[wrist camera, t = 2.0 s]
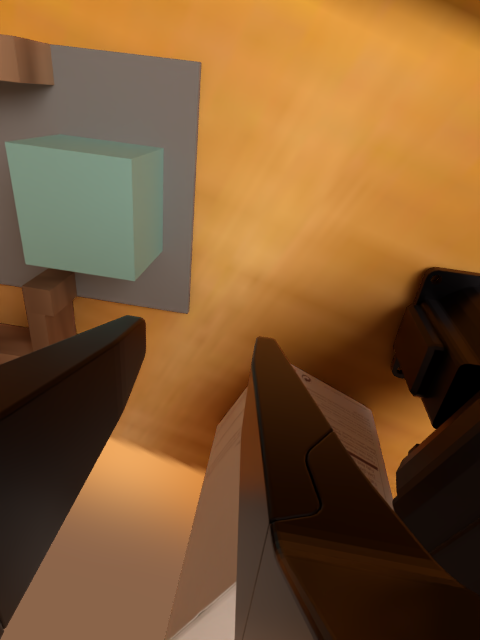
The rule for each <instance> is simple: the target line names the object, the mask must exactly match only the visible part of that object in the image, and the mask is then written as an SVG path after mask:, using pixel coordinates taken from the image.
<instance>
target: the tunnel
mask: <svg viewBox="0 0 480 640" xmlns="http://www.w3.org/2000/svg"><path fill="white" fill-rule="evenodd" d="M0 80H2V81H10V82H18V83H31V84H46V85H54V76H53V67H52V57H51V48H50V44H47V43H42V42H38V41H33V40H29V39H25V38H20V37H16V36H9V35H1V34H0ZM22 291H23V297H24V302H25V308H26V313H27V319H28V324H29V328H25V327H19V326H13V325H7V324H1V323H0V364H3V363H5V362H8V361H11V360H13V359H16V358H18V357H21V356H23V355H26V354H29V353H31V352H34V351H36V350H39V349H41V348H44V347H47V346H49V345H52V344H54V343H57V342H59V341H62V340H64V339H67V338H70V337H72V336H75V335H76V328H75V319H74V310H73V301H72V300H73V299H74V298H76V297H77V289H76V280H75V272H71V271H65V270H58V269H52V268H48V269H47V270H45V271H44V272H42V273H41V274H39V275H38V276H36V277H35V278H33V279H32V280H30V281H29V282H27V283H26V284H24V285H23V286H22Z"/></svg>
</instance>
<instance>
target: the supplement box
mask: <svg viewBox="0 0 480 640" xmlns="http://www.w3.org/2000/svg"><path fill="white" fill-rule="evenodd" d="M291 365H292V364H291ZM292 367H293V368H294V370H295V371H296V373H297V374H298V376H299V377H300V379H301V381H302V382H303V384H304V385H305V387H306V388H307V390H308V391H309V393H310V394H311V396H312V398H313V399H314V401H315V402H316V404H317V405H318V407H319V408H320V410H321V411H322V413H323V415H324V416H325V418H326V419H327V421H328V422H329V424H330V425H331V427H332V428H333V432H335V433H336V434H337V436H338V438H339V439H340V441H341V442H342V444H343V445H344V447H345V448H346V450H347V451H348V452H349V454H350V455H351V457H352V458H353V460H354V461H355V463H356V464H357V465H358V467H359V468H360V469H361V471H362V472H363V473H364V474H365V476H366V477H367V478H368V479H369V481H370V482H371V483H372V485H373V486H374V487H375V488H376V490H377V491H378V492H379V493H380V495H381V496H382V497H383V498H384V499H385V501H386V502H387V503H388V504H389V505H390V507H391V508H392V509H393V505H392V501H393V498H392V494H391V490H390V485H389V481H388V477H387V473H386V469H385V464H384V460H383V456H382V452H381V448H380V443H379V439H378V435H377V431H376V427H375V423H374V419H373V415H372V411H371V410H370V409H368V408H367V407H365V406H364V405H362V404H360V403H359V402H357V401H355V400H354V399H352V398H350V397H348V396H346V395H345V394H343V393H341V392H340V391H338V390H336V389H334V388H332V387H331V386H329V385H327V384H326V383H324V382H322V381H320V380H318V379H317V378H315V377H313V376H311V375H310V374H308V373H306V372H304V371H303V370H301V369H299V368H297V367H296V366H294V365H292ZM247 389H248V386H247V388H246V389H245V390H244V392H243V393H242V394H241V395H240V397H239V398H238V399H237V401H236V402H235V403H234V405H233V406H232V407H231V409H230V410H229V411H228V412H227V414H226V415H225V416H224V418H223V419H222V420H221V422H220V423H219V424H218V425H217V428H216V433H215V437H214V441H213V445H212V449H211V453H210V457H209V461H208V465H207V469H206V473H205V477H204V481H203V486H202V489H201V493H200V498H199V502H198V506H197V510H196V514H195V518H194V522H193V526H192V530H191V534H190V538H189V542H188V546H187V550H186V554H185V558H184V562H183V566H182V570H181V574H180V578H179V582H178V586H177V590H176V594H175V598H174V602H173V606H172V610H171V615H170V619H169V623H168V627H167V631H166V635H165V639H164V640H235V608H236V576H237V545H238V513H239V481H240V449H241V431H242V423H243V416H244V409H245V403H246V396H247ZM393 510H394V509H393Z"/></svg>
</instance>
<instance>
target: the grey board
mask: <svg viewBox="0 0 480 640" xmlns="http://www.w3.org/2000/svg"><path fill="white" fill-rule="evenodd" d="M50 48H51V57H52V67H53V76H54V85H46V84H31V83H18V82H10V81H2V80H0V284H5V285H11V286H17V287H22V286H23V285H24V284H26V283H27V282H29V281H30V280H32V279H33V278H35V277H36V276H38V275H39V274H41V273H42V272H44V271H45V270H47V269H48V268H47V267H41V266H34V265H28V264H26V263H25V257H24V252H23V246H22V240H21V234H20V228H19V223H18V217H17V211H16V205H15V199H14V193H13V188H12V182H11V176H10V170H9V164H8V158H7V153H6V147H5V142H8V141H15V140H22V139H29V138H37V137H44V136H51V135H58V134H61V135H69V136H76V137H84V138H91V139H99V140H106V141H114V142H121V143H129V144H136V145H144V146H151V147H159V148H164V153H163V249H162V252H161V253H160V254H159V255H158V256H157V258H156V259H155V260H154V261H153V262H152V263H151V264H150V265H149V266H148V267H147V268H146V270H145V271H144V272H143V273H142V274H141V275H140V276H139V277H138V278H137V279H136V280H135V281H130V280H124V279H118V278H111V277H105V276H98V275H92V274H86V273H79V272H75V280H76V289H77V296H80V297H86V298H92V299H98V300H105V301H111V302H117V303H123V304H130V305H136V306H142V307H148V308H155V309H161V310H167V311H173V312H180V313H186V314H188V312H189V302H190V281H191V261H192V240H193V220H194V200H195V179H196V159H197V138H198V118H199V98H200V77H201V62H195V61H187V60H178V59H170V58H161V57H153V56H144V55H136V54H128V53H119V52H111V51H102V50H94V49H86V48H77V47H69V46H60V45H52V44H50ZM52 269H53V268H52ZM58 270H60V269H58ZM65 271H66V270H65ZM71 272H73V271H71Z"/></svg>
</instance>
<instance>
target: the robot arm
mask: <svg viewBox="0 0 480 640" xmlns="http://www.w3.org/2000/svg"><path fill="white" fill-rule="evenodd" d="M435 275H439V279H438V280H436V281H431V278H432V277H433V276H435ZM393 348H394V351H395V355H394V358H393V361H392V363H391V370H392V373H393V375H394V376H396V377H398V378H404V379H405V380H406V383H407V385H408V388H409V391H410V392H411V393H412V395H413V396H415V397H421V399H422V402H423V404H424V407H425V409H426V412H427V414H428V417H429V419H430V421H431V424H432V426H433V427H434V428H435V429H436V430H435V431H434V432H433V433H432V434H431V435H430V436H428V437H427V438H426V439H425V440H424V441H423V442H422V443H421V444H416V445H415V446H414V447H413V448H412V449H410V450H409V452H408V456H407V457H405V458H404V459H403V460H402V462H401V464H400V466H399V468H398V470H397V472H396V488H397V496H396V497H395V498H394V499H393V501H392V505H393V509H394V510H393V509H392V508H391V507H390V505H389V504H388V503H387V502H386V501H385V499H384V498H383V497H382V496H381V495H380V493H379V492H378V491H377V490H376V488H375V487H374V486H373V485H372V483H371V482H370V481H369V479H368V478H367V477H366V476H365V474H364V473H363V472H362V471H361V469H360V468H359V467H358V465H357V464H356V463H355V461H354V460H353V458H352V457H351V455H350V454H349V452H348V451H347V450H346V448H345V447H344V445H343V444H342V442H341V441H340V439H339V438H338V436H337V434H336V433H335V432H333V428H332V427H331V425H330V424H329V422H328V421H327V419H326V418H325V416H324V415H323V413H322V411H321V410H320V408H319V407H318V405H317V404H316V402H315V401H314V399H313V398H312V396H311V394H310V393H309V391H308V390H307V388H306V387H305V385H304V384H303V382H302V381H301V379H300V377H299V376H298V374H297V373H296V371H295V370H294V368H293V367H292V365H291V364H290V362H289V360H288V359H287V357H286V356H285V354H284V353H283V351H282V350H281V348H280V346H279V345H278V343H277V342H276V340H275V339H273V338H267V337H261V336H259V337H257V338H256V341H255V346H254V351H253V356H252V362H251V369H250V375H249V382H248V389H247V396H246V403H245V409H244V416H243V423H242V431H241V449H240V481H239V513H238V545H237V576H236V608H235V640H480V273H473V272H466V271H460V270H453V269H446V268H439V267H433V268H430V269H428V270H427V271H426V272H425V274H424V276H423V278H422V281H421V284H420V287H419V289H418V292H417V295H416V298H415V300H414V303H413V304H411V305H410V306H408V307H407V308H406V311H405V314H404V316H403V319H402V322H401V325H400V328H399V331H398V333H397V336H396V339H395V342H394V345H393ZM145 353H146V323H145V320H144V319H143V318H141V317H135V316H129V315H126V316H124V317H121V318H118V319H116V320H113V321H111V322H108V323H106V324H103V325H100V326H98V327H95V328H93V329H90V330H88V331H85V332H82V333H80V334H77V335H75V336H72V337H70V338H67V339H64V340H62V341H59V342H57V343H54V344H52V345H49V346H47V347H44V348H41V349H39V350H36V351H34V352H31V353H29V354H26V355H23V356H21V357H18V358H16V359H13V360H11V361H8V362H5V363H3V364H0V639H1V637H2V635H3V633H4V630H3V629H5V628H6V627H7V625H8V623H9V621H10V620H11V618H12V616H13V614H14V612H15V610H16V608H17V607H18V605H19V603H20V601H21V599H22V598H23V596H24V594H25V592H26V590H27V588H28V586H29V585H30V583H31V581H32V579H33V577H34V575H35V574H36V572H37V570H38V568H39V566H40V564H41V562H42V561H43V559H44V557H45V555H46V553H47V551H48V550H49V548H50V546H51V544H52V542H53V540H54V538H55V537H56V535H57V533H58V531H59V529H60V527H61V526H62V524H63V522H64V520H65V518H66V516H67V515H68V513H69V511H70V509H71V507H72V505H73V504H74V502H75V500H76V498H77V496H78V494H79V492H80V490H81V489H82V487H83V485H84V483H85V481H86V480H87V478H88V476H89V474H90V472H91V470H92V468H93V467H94V464H95V463H96V461H97V459H98V457H99V456H100V454H101V452H102V450H103V448H104V446H105V445H106V442H107V441H108V439H109V437H110V435H111V433H112V432H113V430H114V428H115V426H116V424H117V422H118V421H119V419H120V417H121V415H122V413H123V411H124V408H125V406H126V403H127V401H128V398H129V396H130V393H131V391H132V388H133V386H134V383H135V380H136V378H137V375H138V373H139V370H140V368H141V365H142V363H143V360H144V357H145ZM399 367H401V369H402V370H397V369H398V368H399Z"/></svg>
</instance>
